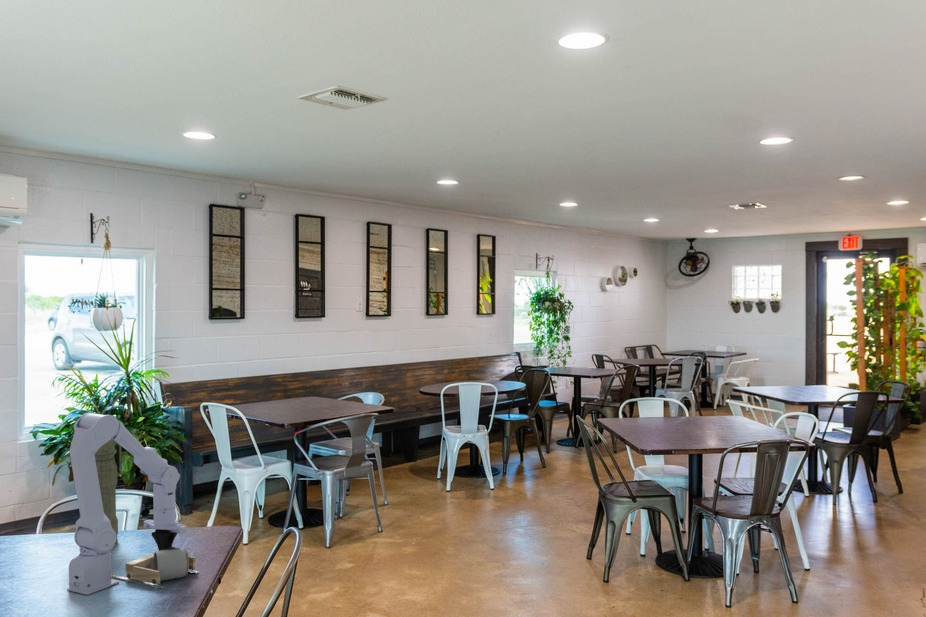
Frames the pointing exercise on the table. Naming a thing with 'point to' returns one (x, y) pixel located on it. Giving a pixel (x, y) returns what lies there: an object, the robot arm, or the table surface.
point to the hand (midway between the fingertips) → (165, 556)
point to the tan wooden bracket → (149, 568)
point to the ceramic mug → (171, 563)
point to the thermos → (109, 478)
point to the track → (138, 581)
